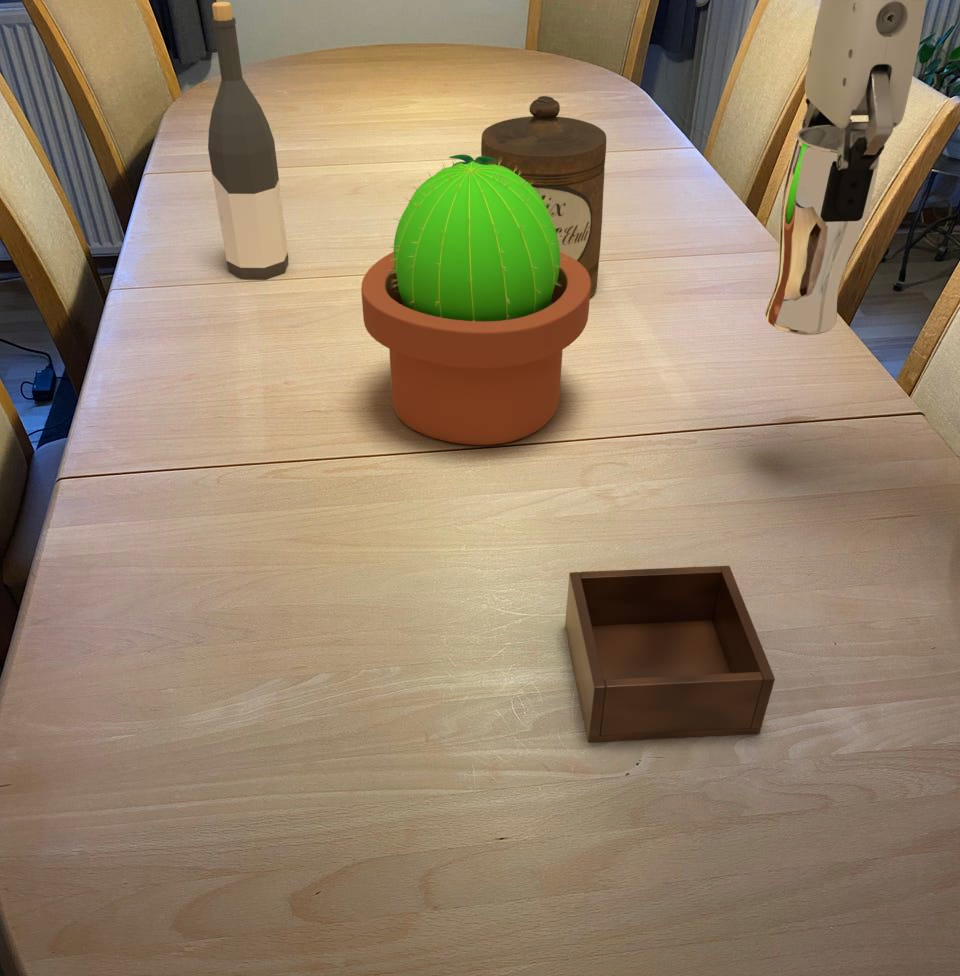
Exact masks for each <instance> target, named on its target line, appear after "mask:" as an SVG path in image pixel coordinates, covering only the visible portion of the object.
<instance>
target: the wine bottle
mask: <svg viewBox="0 0 960 976" xmlns="http://www.w3.org/2000/svg"><path fill="white" fill-rule="evenodd" d="M211 7H212V14H213V17H212V19H211V23H212V26H213V31H214V38H215V46H216V52H217V59H218V65H219V72H220V78H221V79H220V84H219V87H218V91H217V94H216V96H215V100H214V103H213V107H212V109H211V114H210V120H209V127H208V139H207V140H208V141H207V149H208V150H207V151H208V157H209V162H210V168H211V175H212V180H213V186H214V187H213V188H214V193H215V199H216V206H217V211H218V217H219V223H220V224H219V225H220V230H221V236H222V242H223V249H224V254H225V260H226V265H227V269H228V273H230V274H232V275H234V276H236V277H238V278H239V279H241V280H268V279H271V278H274V277H276V276H279V275H282V274H285V273H286V270H287V268H288V266H289V251H288V241H287V234H286V225H285V217H284V210H283V202H282V193H281V192H282V191H281V184H280V179H279V178H280V177H279V168H278V160H277V152H276V143H275V138H274V135H273V133H272V130H271V127H270V124H269V122H268V119H267V117H266V115H265V112H264V111H263V109H262V106H261V104H260V103H259V102H258V100H257V99H256V97H255V95H254V94H253V92H252V91H251V89H250V87H249V86H248V85H247V83H246V81H245V79H244V78H243V72H242V71H243V70H242V64H241V57H240V50H239V42H238V35H237V34H238V33H237V27H236V24H237V21H236V17H235V16H234V15H233V10H232V3H231V2H228V1H217V2H213V3H212V4H211Z"/></svg>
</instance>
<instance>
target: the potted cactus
mask: <svg viewBox="0 0 960 976" xmlns="http://www.w3.org/2000/svg"><path fill="white" fill-rule="evenodd" d="M448 159H452V160H451V162H452V165H451V166H447V167H446V163H444V161H441V164H442V165H439V166H440V170H438V171H437V172H436V173H435V174H434V175H431V172H430V170H429V172H427V174H428V176H429V178H427V179H426V180H424V182H423V183H422V184H420V185H419V186H417V187H416V186H415V185H414V186H413V185H412V188H413V189H415V191H414V193H413V194H412V196H411V198H410V199H409V198H408V197H407V196H406V197H405V199H406V201H408V204H407V206H405V209H404V211H403V213H402V215H401V216H400V219H398V218H396V216H393V218H394V217H395V221H397V222H398V224H397V227H396V230H395V235H394V239H393V240H394V241H393V245H391V246H390V248H391V249H393V251H392V252H390V253H388V254H387V255H384V256H383V257H381V258H380V259H379V260H378V261H376V262H375V263H374V264H373V265H371V267H370V268H369V269H368V270H367V271H366V273H365V274H364V276H363V278H362V282H361V288H360V289H361V304H362V305H361V306H362V316H363V317H362V318H363V324H364V327H365V329H366V332H367V333H368V335H370V336H371V337H372V338H373V339H374V340H375V341H376V342H377V343H379V344H381V345H382V346H384V347H385V348H387V349H388V350H389V364H390V365H389V366H390V384H391V397H392V398H391V401H392V406H393V410H394V412H395V414H396V416H397V417H398V419H399V420H400V421H401V422H402V423H403V424H405V425H406V426H408V427H409V428H410V429H412V430H414V431H415V432H418V433H420V434H422V435H424V436H427V437H430V438H433V439H436V440H439V441H443V442H444V441H445V442H448V443H453V444H460V445H469V446H470V445H471V446H491V445H492V446H493V445H501V444H507V443H511V442H516V441H518V440H521V439H523V438H526V437H528V436H530V435H532V434H534V433H535V432H537V431H539V430H540V429H541V428H543V427H544V426H545V425H547V423H548V422H549V421H551V419H552V418H553V416H554V415H555V413H556V411H557V409H558V406H559V403H560V395H561V394H560V393H561V380H562V379H561V378H562V367H563V366H562V365H563V352H564V351H563V350H564V349H566V348H567V347H569V346H570V345H571V344H573V343H574V342H575V341H576V340H577V339H578V338H579V337H580V336H581V334H583V332H584V330H585V328H586V327H587V323H588V320H589V314H590V301H591V297H590V289H591V281H590V276H589V274H588V272H587V270H586V269H585V268H584V267H583V266H582V265H581V264H580V263H579V262H578V261H576V260H575V259H573V258H571V257H570V256H568V255H566V254H564V253H561V252H560V248H559V242H558V239H561V238H558V237H557V233H556V230H555V229H556V228H555V227H554V225H553V222H552V220H551V218H550V215H549V212H548V209H547V207H546V205H545V204H546V203H547V202H546V203H544V200H542V198H541V196H540V195H539V194H538V192H537V191H536V190H535V189H534V188H533V187H532V186H531V184H532V183H533V182H532V183H531V184H529V183H528V182H529V181H528V182H527V181H525V180H524V179H523V178H521V177H519V175H517V174H515V173H514V172H515V171H516V169H514V170H515V171H514V172H513V171H511V170H510V169H508V168H506V167H503V166H499V163H500V162H499V163H498V165H496V164H494V163H493V164H490V163H486V162H489V161H498V160H496V159H493V158H490V157H485V156H481V155H480V156H477V157H476V158H475V159H474V158H473V157H472V156H471V155H469V154H455V155H450V156H449V157H448ZM502 159H503V158H502ZM457 160H461V161H457ZM500 160H501V159H500ZM501 161H502V160H501ZM485 163H486V164H485ZM496 163H497V162H496ZM515 166H516V165H515ZM516 168H517V167H516ZM519 172H520V170H519ZM520 173H521V172H520ZM520 173H519V174H520ZM548 198H549V197H548ZM545 200H546V199H545ZM548 202H549V201H548ZM549 204H550V203H549ZM547 205H548V204H547ZM555 217H556V216H555ZM553 219H554V218H553ZM557 219H558V218H557ZM554 220H555V219H554ZM557 227H558V226H557ZM558 228H560V227H558ZM563 236H564V235H563ZM562 239H563V238H562ZM564 239H565V238H564ZM560 247H565V246H560Z"/></svg>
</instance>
